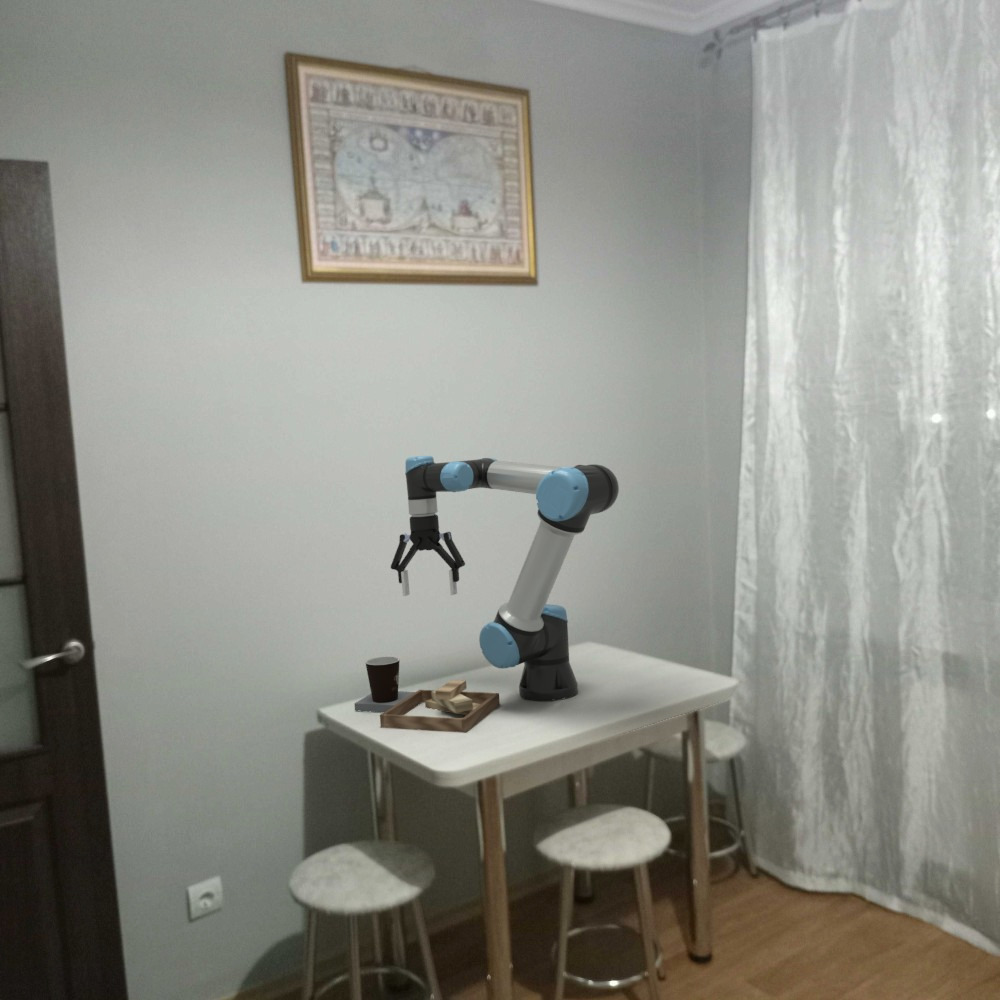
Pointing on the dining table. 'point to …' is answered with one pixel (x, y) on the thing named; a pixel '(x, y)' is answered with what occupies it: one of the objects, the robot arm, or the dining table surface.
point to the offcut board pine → (455, 703)
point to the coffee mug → (383, 678)
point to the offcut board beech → (451, 689)
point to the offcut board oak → (439, 707)
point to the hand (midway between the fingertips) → (429, 595)
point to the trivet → (369, 705)
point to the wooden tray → (399, 720)
